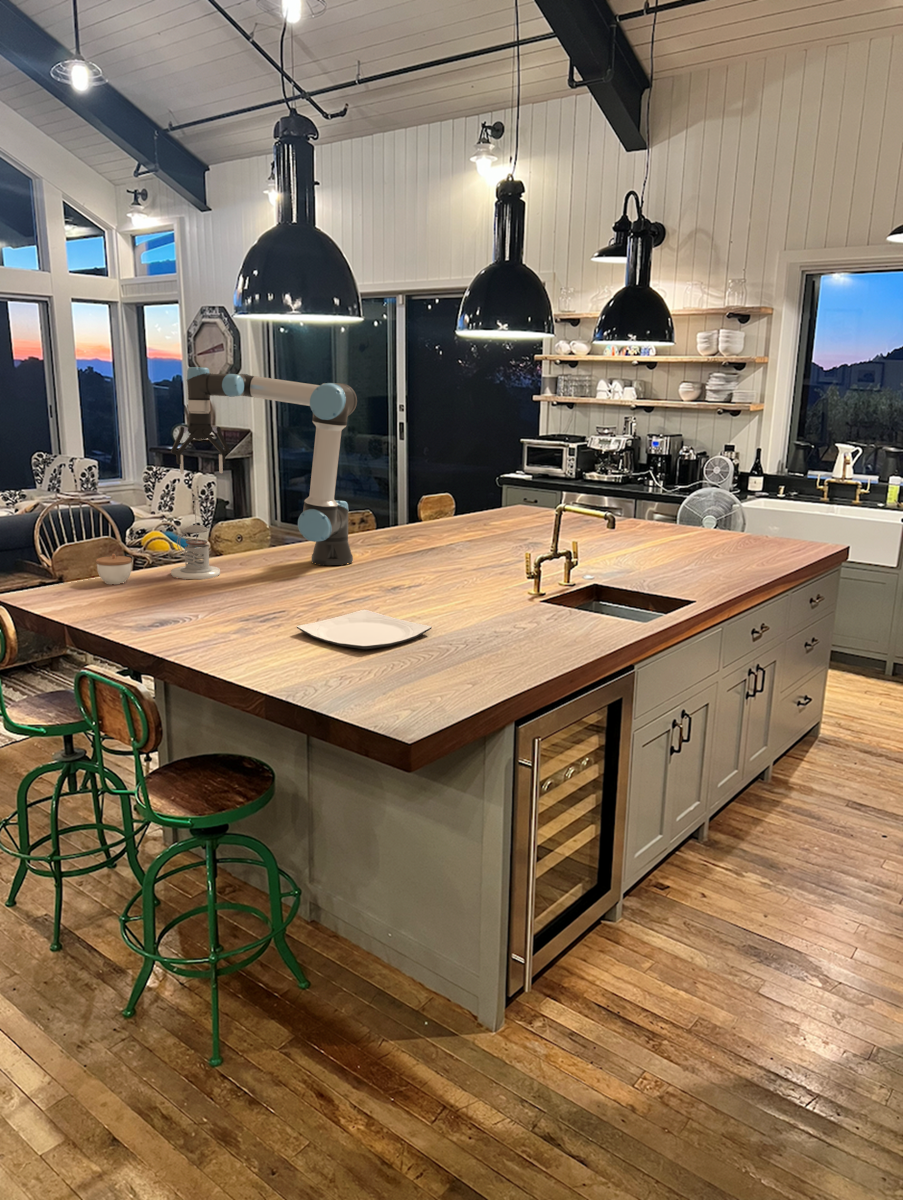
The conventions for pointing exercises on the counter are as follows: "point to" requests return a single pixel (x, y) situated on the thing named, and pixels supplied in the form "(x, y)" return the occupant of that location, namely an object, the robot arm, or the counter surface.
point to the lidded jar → (114, 568)
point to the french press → (196, 549)
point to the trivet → (187, 575)
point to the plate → (364, 630)
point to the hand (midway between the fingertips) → (201, 473)
